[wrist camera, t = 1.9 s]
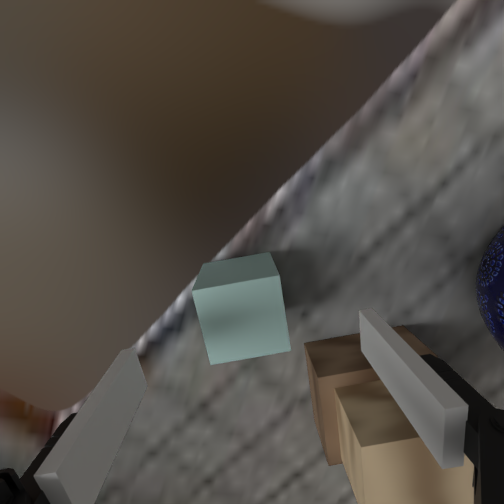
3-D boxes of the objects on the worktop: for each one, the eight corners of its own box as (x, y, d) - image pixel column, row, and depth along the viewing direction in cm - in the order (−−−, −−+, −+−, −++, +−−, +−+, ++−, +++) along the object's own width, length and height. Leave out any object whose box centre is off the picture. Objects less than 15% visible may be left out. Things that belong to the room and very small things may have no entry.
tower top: (341, 458, 24) (366, 528, 19) (334, 388, 22) (360, 447, 17) (427, 443, 24) (474, 509, 19) (428, 371, 22) (482, 426, 17)
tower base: (313, 418, 29) (328, 465, 24) (303, 341, 26) (317, 378, 21) (402, 402, 29) (435, 446, 24) (401, 323, 26) (437, 356, 21)
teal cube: (217, 322, 25) (210, 365, 19) (203, 263, 23) (191, 291, 17) (279, 311, 25) (291, 350, 19) (269, 251, 23) (279, 275, 17)
